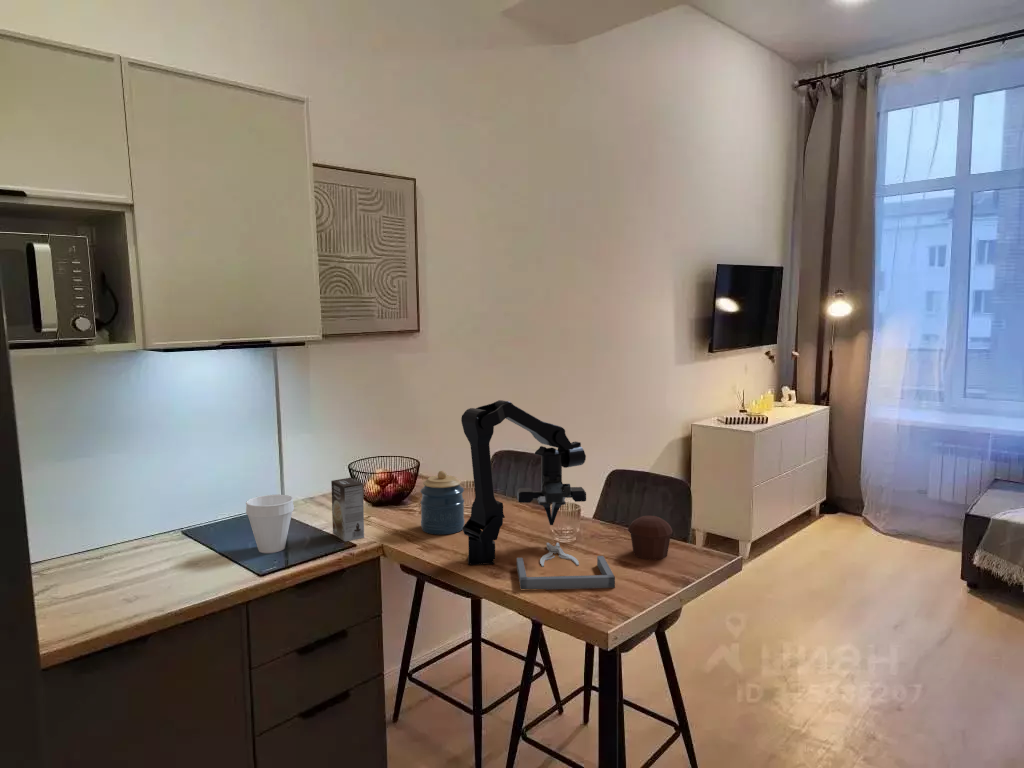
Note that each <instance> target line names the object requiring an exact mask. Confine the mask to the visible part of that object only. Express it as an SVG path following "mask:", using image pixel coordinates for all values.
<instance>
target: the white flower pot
mask: <svg viewBox="0 0 1024 768" xmlns="http://www.w3.org/2000/svg"><path fill="white" fill-rule="evenodd" d="M245 505H246V506H245V507H246V509H245V510H246V511H245V514H246V515H247V517H248V520H249V522H250V523H249V524H250V527H251V529H252V533H253V537H254V540H255V544H256V546H257V550H258V552H259V553H262V554H274V553H277V552H278V553H279V552H281V551H283V550H285V549H286V543H287V539H288V533H289V528H290V524H291V519H292V514H293V511H294V510H295V507H294V497H292V495H291V496H290V495H288V494H266V495H259V496H256V497H251V498H249V499H248V500H247V501H246V502H245Z"/></svg>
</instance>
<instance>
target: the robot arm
mask: <svg viewBox="0 0 1024 768" xmlns="http://www.w3.org/2000/svg"><path fill="white" fill-rule="evenodd" d="M505 419H506V420H508V421H510V422H511V423H513V424H514V425H517V426H518V427H520V428H522V429H524V430H526V431H528V432H529V433H530V434H531V435H532V437H533V438H534V439H535V440H536V441H538V442H539V444H542V445H541V446H539V448H538V449H537V450H536V451H535V452H534V454H535V455H537V456H541V457H540V458H541V461H540V462H541V463H540V464H541V465H540V468H541V471H540V473H541V474H540V475H541V477H540V479H541V481H540V486H541V487H540V490H539V491H538V490H537V491H534V490H533V489H532V487H519V488H518V489H517V495H516V496H517V497H516V499H517V501H518V503H525V504H526V503H531V502H533V500H534V499H537V502H538V505H539V506H543V508H544V510H545V512H546V516H547V519H548V523H549V525H550V526H554V524H555V521H556V517H557V514H558V512H559V510H560V508H561V507H562V506H563V505H566V504H567V502H566V498H567V499H568V498H569V499H570V498H571V499H572V500H573V501H574V502H577V503H579V502H581V503H582V502H586V501H587V492H586V490H585V488H583V487H582V486H571V484H570V483H563V474H562V473H563V468H565V469H566V468H572V467H577V466H582V465H584V464H585V462H586V458H587V455H586V452H585V450H584V449H583V447H582V446H581V445H582V442H579V441H573V442H571V441H570V439H569V438H568V436H567V435H566V429H565V428H564V427H562V426H559V425H556V424H553V423H550V422H545V421H542V420H541V419H539V418H537V417H535V416H534V415H532V414H530V413H528V412H527V411H525V410H523V409H521V408H520V407H518V406H516V405H514V404H513V402H511V401H509V400H508V401H507V400H504V399H503V400H501V399H500V400H496V401H494V402H491V403H488V404H484V405H481V406H478V407H476V408H475V407H470V408H467V409H466V410H465V411H464V413H462V415H461V419H460V421H461V425H462V429H463V433H464V435H465V437H466V439H467V440H468V442H469V445H470V454H471V456H470V457H471V464H472V465H471V466H472V475H473V476H472V477H473V485H474V499H473V503H472V505H471V506H470V507H471V508H470V509H471V510H470V511H471V512H470V517H469V518H468V520H466V522H465V523H464V527H463V528H462V531H463V532H462V533H463V534H464V536H468V556H467V564H468V565H470V566H471V565H494V560H495V559H496V541H497V540H498V537H499V533H500V530H501V527H502V526H503V523H504V519H505V518H506V516H505V514H504V503H503V502H502V501H499V500H497V499H496V498H495V493H494V481H493V470H492V460H491V450H490V449H491V448H490V442H491V440H492V437H493V435H494V432H495V431H494V430H495V429H494V428H495V426H498V425H499V424H502V422H503V421H504V420H505ZM543 445H546V446H543ZM547 446H549V447H547ZM551 505H552V506H551Z"/></svg>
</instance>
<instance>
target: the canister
mask: <svg viewBox="0 0 1024 768" xmlns="http://www.w3.org/2000/svg"><path fill="white" fill-rule="evenodd" d="M461 484H462V481H461V480H460V479H459V478H457V477H456V476H454V475H447V472H446V471H445V470H440V471H438V473H437V475H432V476H430V477H428V478H427V479H425V480H424V481H423V482H422V485H423V487H422V488H421V489H420V491H419V492H420V493H421V494H422V495H421V496H422V497H421V500H420V504H421V505H420V507H421V508H420V511H421V514H420V515H421V517H420V526H421V530H422V531H423V532H425V533H426V534H431V535H440V536H441V535H451V534H455V533H460V532H461V531H463V529H462V528H463V527H464V525H465V513H464V511H465V508H464V507H465V506H464V505H465V499H464V498H463V497H464V496H463V493H464V492H465V489H464V487H462V486H461Z"/></svg>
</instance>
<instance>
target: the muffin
mask: <svg viewBox="0 0 1024 768" xmlns="http://www.w3.org/2000/svg"><path fill="white" fill-rule="evenodd" d="M627 531H628V533H630V538H631V545H632V553H633V552H634V553H633V555H634V556H635V557H637V558H640V559H641V560H649V559H650V561H655V559H656V560H663V559H665V558H666V557H668V554H669V553H668V552H669V548H670V547H669V546H670V543H671V542H670V541H671V536H672V534H673V528H672V526H671V524H670V523H668V522H667V521H666V520H664V518H661V517H659V516H656V515H643V516H642V515H641V516H639V517H637V518H635V519H634V520H632V521H631V523H630V524H629V526H628V528H627Z"/></svg>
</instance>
